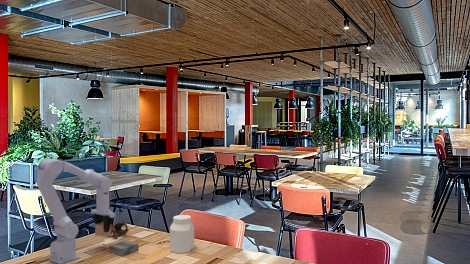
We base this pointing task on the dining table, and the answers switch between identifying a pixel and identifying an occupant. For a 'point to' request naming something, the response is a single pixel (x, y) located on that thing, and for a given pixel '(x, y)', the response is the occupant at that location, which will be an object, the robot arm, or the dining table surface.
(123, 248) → the grey base block
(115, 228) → the pottery mug
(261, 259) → the dining table surface
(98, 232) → the terracotta block
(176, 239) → the jar
